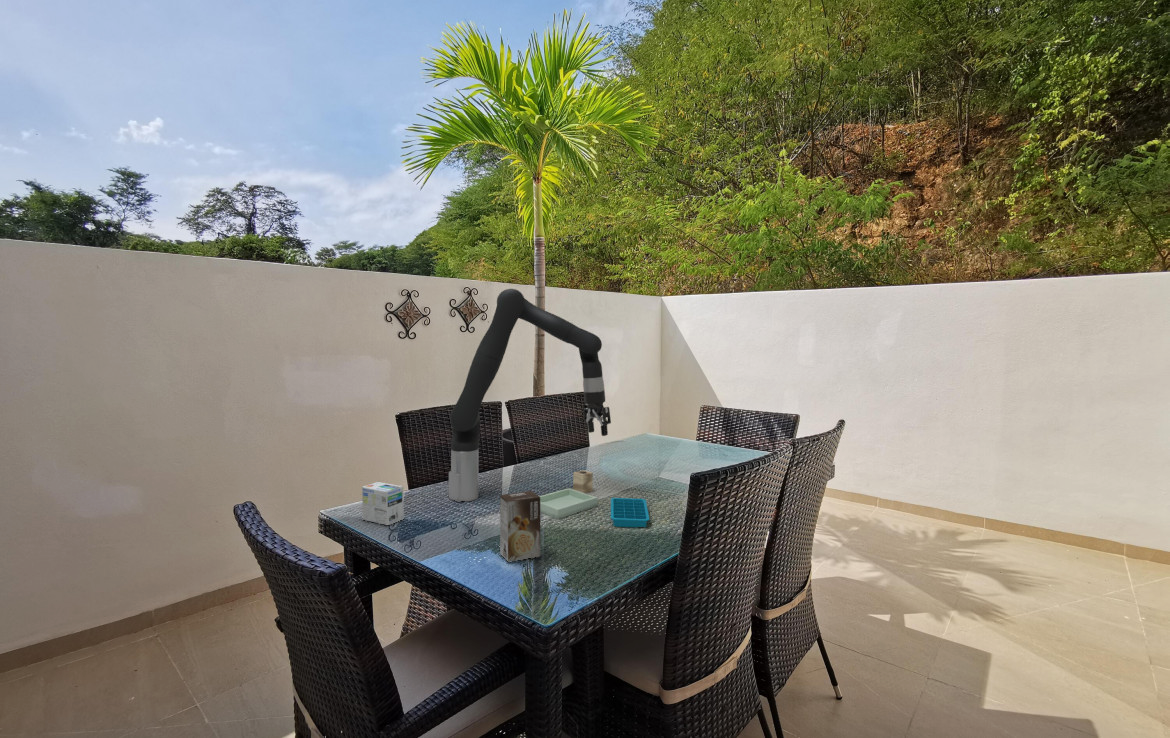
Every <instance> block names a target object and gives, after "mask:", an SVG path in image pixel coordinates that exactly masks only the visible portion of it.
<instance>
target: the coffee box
mask: <svg viewBox="0 0 1170 738" xmlns="http://www.w3.org/2000/svg"><path fill="white" fill-rule="evenodd" d="M539 496H540V495H539V494H537V493H535V492H533V491H532V490H527V491H521V492H520V491H519V492H513V493H512V492H511V493H505V494H500V495H499V517H500V518H499V527H500V528H499V534H500V536H499V538H500V539H499V542H500V543H499V545H500V547H499V548H500V549H499V552H500V553H501V554H500V555H502V556H503V557H504V558H505V559H506V560H507V561H508V562H510V561H516V562H518V561H517V560H521V561H524V560H523V559H526V560H529V559H528V558H531V559H536V558H541V554H542V553H541V552H542V551H541V512H540V497H539ZM502 556H501V557H502ZM503 557H502V558H503ZM535 557H536V558H535ZM504 558H503V559H504ZM505 559H504V560H505ZM506 560H505V561H506ZM507 561H506V562H507Z"/></svg>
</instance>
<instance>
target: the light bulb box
mask: <svg viewBox="0 0 1170 738" xmlns="http://www.w3.org/2000/svg"><path fill="white" fill-rule="evenodd" d="M361 491H362V493H361V495H362V498H361V499H362V501H361V502H362V520H363V519H365V520H369V521H374V522H378V523H381V524H385V525H390V524H392V525H394V524H393V523H395V522H397V523H399V522H401V521H400V520H402V521H404V520H405V518H404V517H405V510H404V485H398V484H392V483H387V482H380V481H377V482H376V481H375V482H373V483H370V484H367V485H363V486H362V487H361ZM403 519H404V520H403ZM398 521H399V522H398ZM395 524H396V523H395ZM390 526H391V525H390Z"/></svg>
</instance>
